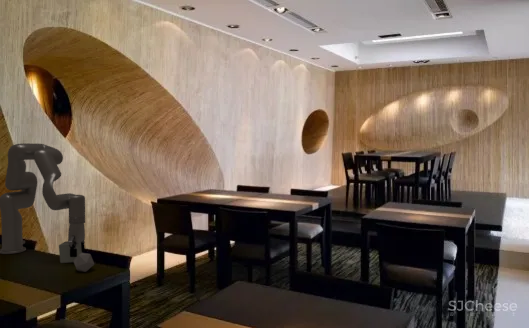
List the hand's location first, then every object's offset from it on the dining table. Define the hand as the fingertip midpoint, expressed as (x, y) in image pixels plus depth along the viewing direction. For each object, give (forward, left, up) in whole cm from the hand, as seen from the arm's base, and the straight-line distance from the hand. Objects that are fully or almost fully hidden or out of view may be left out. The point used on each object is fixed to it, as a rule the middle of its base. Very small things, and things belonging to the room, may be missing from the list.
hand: (77, 254), depth 218 cm
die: (+16, +9, -4) cm, 19 cm away
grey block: (0, -3, -3) cm, 4 cm away
